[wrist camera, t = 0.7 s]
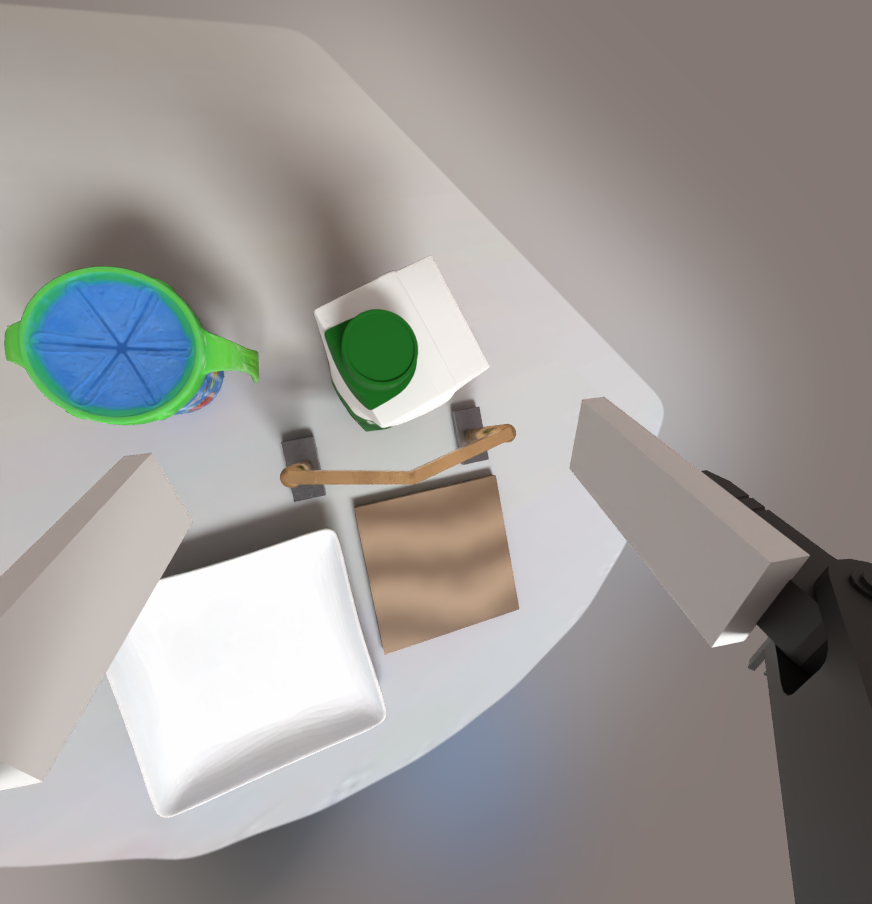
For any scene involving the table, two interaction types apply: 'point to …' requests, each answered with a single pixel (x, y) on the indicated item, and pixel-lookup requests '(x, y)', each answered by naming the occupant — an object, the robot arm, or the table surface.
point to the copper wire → (311, 479)
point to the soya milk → (398, 346)
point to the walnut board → (437, 561)
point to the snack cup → (121, 348)
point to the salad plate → (244, 671)
